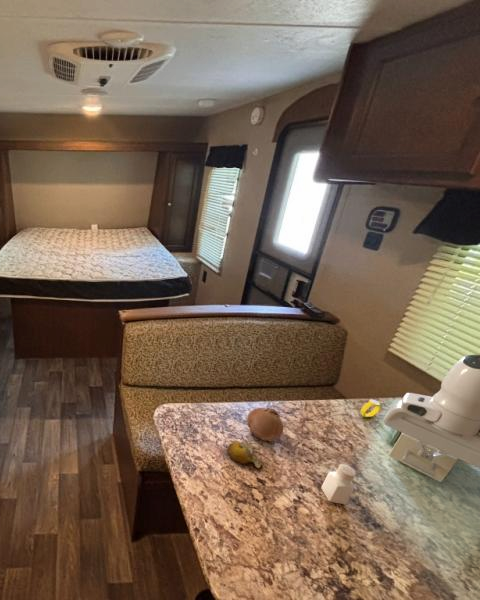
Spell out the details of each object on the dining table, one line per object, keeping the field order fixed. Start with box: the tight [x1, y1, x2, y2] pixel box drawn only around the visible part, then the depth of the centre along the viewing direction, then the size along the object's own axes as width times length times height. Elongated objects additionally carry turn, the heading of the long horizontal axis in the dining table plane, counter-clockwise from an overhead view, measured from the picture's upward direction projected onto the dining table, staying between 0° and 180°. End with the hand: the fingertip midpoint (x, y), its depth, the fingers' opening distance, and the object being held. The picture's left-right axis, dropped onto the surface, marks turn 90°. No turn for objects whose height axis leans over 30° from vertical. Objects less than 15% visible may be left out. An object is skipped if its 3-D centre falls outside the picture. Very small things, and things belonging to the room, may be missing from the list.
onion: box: [246, 407, 284, 442], centre depth 94 cm, size 10×9×10 cm
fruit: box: [226, 440, 262, 470], centre depth 87 cm, size 8×8×4 cm
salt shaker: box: [321, 463, 357, 505], centre depth 76 cm, size 4×4×10 cm
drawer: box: [388, 433, 459, 483], centre depth 87 cm, size 18×10×8 cm, turn 129°
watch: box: [360, 398, 382, 418], centre depth 104 cm, size 6×3×6 cm, turn 101°
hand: (425, 457), depth 81 cm, fingers closed
